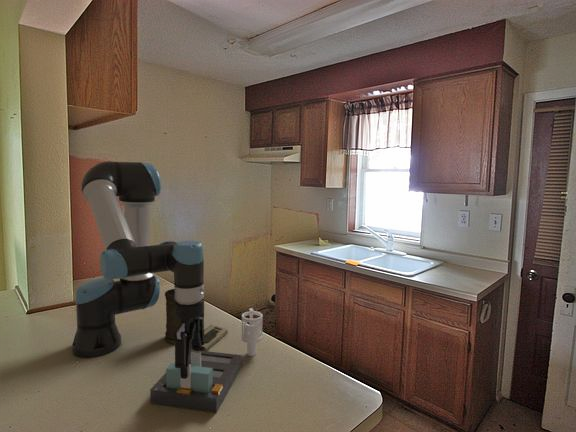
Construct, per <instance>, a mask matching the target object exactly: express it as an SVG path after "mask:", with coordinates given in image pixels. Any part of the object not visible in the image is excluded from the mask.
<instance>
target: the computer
mask: <svg viewBox="0 0 576 432" xmlns="http://www.w3.org/2000/svg"><path fill="white" fill-rule="evenodd" d="M228 332H229V331H228V329H227V328H225V327H223V326H220V325H216V324H209V325H208V326H206V328H205V327H204V340H205V344H204V345H202V347H205V349H204V351H210V349H211V348H212V347H213V346H215V345H216V344H217V343H218V342H219V341H220V340H222V339H223V338H224V337H225V336H227V334H228ZM191 350H193V349H192V344H191Z"/></svg>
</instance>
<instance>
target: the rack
mask: <svg viewBox="0 0 576 432" xmlns="http://www.w3.org/2000/svg"><path fill="white" fill-rule="evenodd" d="M191 351H194V350H192V349H191V350H190V360H189V364H191ZM201 367H208V368H213V389H212V390H211V392H210V394H209V393H202V392H194V391H192V389H186V388H178V389H172V388H166V372H164V374H163V375H162V376H161V377H160V378H159V380H158V381H157V382H156V383H155V384H154V385H153V386H152V387H151V388H150V391H149V394H150V395H149V397H150V405H151V404H152V405H159V406H164V407H165V406H166V407H170V408H180V409H187V410H192V411H201V412H208V413H213V414H217V413H218V411H219V409H220V407H221V406H222V404H223V402H224V401H225V399H226V398H227V397H226V396H227V395H228V393H229V391H230V389H231V388H232V385H233V384H234V383H235V380H236V379H237V377H238V375H239V373H240V371H242V367H243V355H241V354H235V353H226V352H225V353H224V352H217V351H210V350H207V351H201Z"/></svg>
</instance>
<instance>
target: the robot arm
mask: <svg viewBox="0 0 576 432" xmlns="http://www.w3.org/2000/svg"><path fill="white" fill-rule="evenodd" d="M80 185H81V188H80V189H81V193H82V197H83V199H84V200H85V201H86V202H87V203H89V206H90V209H91V212H92V215H93V217H94V221H95V224H96V226H97V230H98V232H99V235H100V238H101V242H102V244H103V248H104V249H105V250H103V251H101V253H100V255H99V267H100V273H101V275H102V277H100V278H95V279H91V280H88V281H86V282H83V283H82V284H80V285H79V286H78V287H77V288H76V291H75V309H76V310H75V311H76V331H75V334H74V338H73V341H72V344H71V352H72V354H73V355H74V356H76V357H79V358H96V357H100V356H104V355H106V354H109V353H112V352H113V351H115V350H117V349H118V348H119V347H120V346H121V345H122V335H121V333H120V332H119V329H118V326H117V323H116V316H117V315H120V314H121V315H122V314H125V313H129V312H135V311H138V310H139V311H140V310H145V309H148V308H151V307H153V306H155V305H156V304H157V302H158V301H159V298H160V294H161V292H160V291H161V285H160V280H159V277H158V276H157V275H155V274H157V273H162V272H169V271H170V272H172V273H173V278H174V279H173V281H174V288H173V289H174V290H175V300H176V302H175V314H176V316H177V317H179V318H180V329H179V331H175V332H174V337H175V344H174V363H175V368H180V386H181V388H188V389H190V388H191V366H199V367H201V351H204V349H205V347H202V345H204V344H205V340H204V329H205V321H204V320H205V299H204V296H205V292H206V289H205V286H204V283H205V282H204V280H205V279H204V278H205V277H204V275H205V271H204V270H205V268H204V267H205V264H204V263H205V262H204V261H205V254H204V246H203V244H202V243H201V242H200V241H197V240H182V241H178V242H176V241H172V240H164V241H163V242H161V243H159V244H154V245H153V244H152V245H151V206H152V204H153V203H155V199H156V198H155V197H157V196H160V194H161V191H162V180H161V176H160V173H159V171H158V169H157V167H156V166H155V165H154V164H152V163H148V162H137V161H133V162H132V161H131V162H130V161H113V160H111V161H110V160H108V161H107V160H106V161H103V162H99V163H97V164H94V165H93V166H91V168H89V169H88V171H86V173H85V174H84V175H83V178H82V180H81V184H80ZM120 203H121V204H122V206H123V210H122V208H121V205H120ZM116 279H117V281H115V280H116ZM118 279H119V280H118ZM186 335H190V336H186ZM191 344H192V349H193V350H194V351H191V364H189V360H190V350H192V349H191Z"/></svg>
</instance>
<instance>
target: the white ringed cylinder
mask: <svg viewBox="0 0 576 432" xmlns="http://www.w3.org/2000/svg"><path fill="white" fill-rule="evenodd" d="M248 310H249V311H246V312H243V313H242V314H241V341H242V342H244V343H246V344H247V349H246V352H247V353H246V354H247V356H249V357H253V356H256V355H257V343H259V342H261V341H263V340H262V339H263V318H264V317H263V316H264V315H263V313H262V312H260V311H255V310H254V308H253V307H251V308H249V309H248ZM246 316H249V318H248V317H246ZM254 316H258V317H257V318H256V317H255V318H254ZM247 323H248V324H247Z"/></svg>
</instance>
